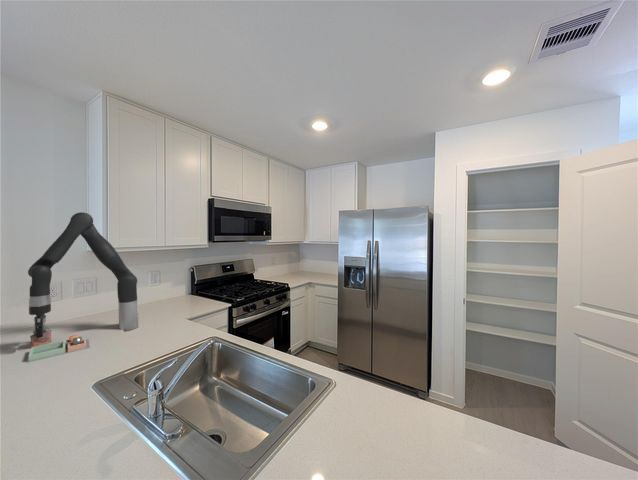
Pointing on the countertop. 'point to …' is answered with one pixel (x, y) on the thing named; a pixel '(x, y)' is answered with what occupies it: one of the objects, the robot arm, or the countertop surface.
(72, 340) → the button
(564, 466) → the countertop surface
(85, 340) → the divided organizer tray
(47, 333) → the lighter
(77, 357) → the countertop surface
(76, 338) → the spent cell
